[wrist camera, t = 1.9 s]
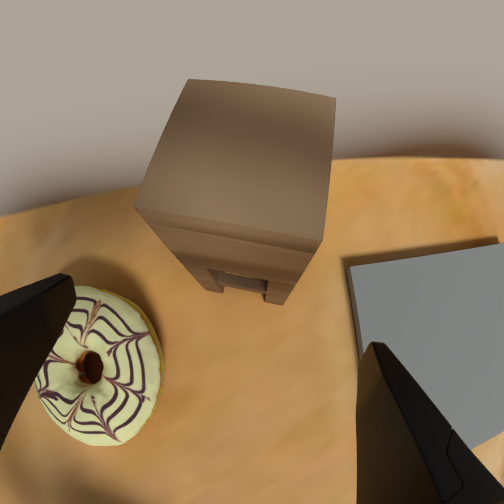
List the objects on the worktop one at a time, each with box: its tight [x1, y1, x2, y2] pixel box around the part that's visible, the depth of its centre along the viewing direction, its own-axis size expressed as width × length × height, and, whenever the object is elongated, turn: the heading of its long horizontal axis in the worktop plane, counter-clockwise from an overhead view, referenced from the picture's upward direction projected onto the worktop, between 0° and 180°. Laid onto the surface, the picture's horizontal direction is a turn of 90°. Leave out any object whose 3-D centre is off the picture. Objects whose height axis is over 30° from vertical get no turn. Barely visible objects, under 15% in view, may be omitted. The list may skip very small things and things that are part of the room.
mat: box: [346, 243, 504, 450], centre depth 18 cm, size 16×16×1 cm
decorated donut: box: [33, 286, 165, 446], centre depth 18 cm, size 10×11×4 cm
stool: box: [134, 79, 336, 305], centre depth 15 cm, size 5×5×13 cm
